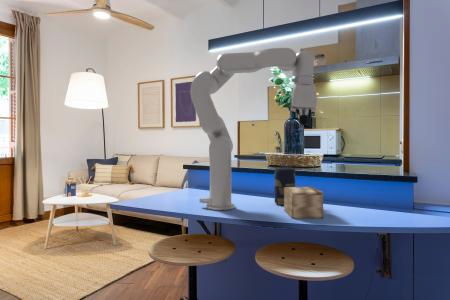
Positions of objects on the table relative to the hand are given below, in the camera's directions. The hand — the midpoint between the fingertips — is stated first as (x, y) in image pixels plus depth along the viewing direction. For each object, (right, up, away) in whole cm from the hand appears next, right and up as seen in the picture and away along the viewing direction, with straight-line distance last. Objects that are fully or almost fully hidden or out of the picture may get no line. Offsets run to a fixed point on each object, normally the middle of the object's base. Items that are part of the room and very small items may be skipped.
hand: (302, 124), depth 138 cm
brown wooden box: (-2, -37, -7) cm, 37 cm away
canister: (-5, -36, +13) cm, 39 cm away
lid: (-2, -27, -8) cm, 29 cm away
